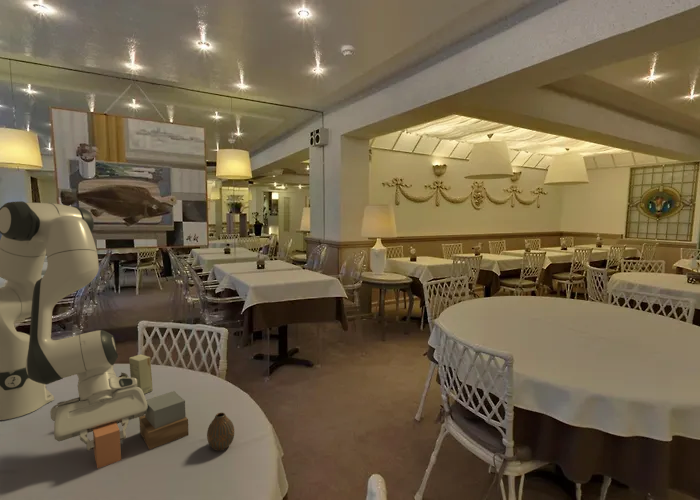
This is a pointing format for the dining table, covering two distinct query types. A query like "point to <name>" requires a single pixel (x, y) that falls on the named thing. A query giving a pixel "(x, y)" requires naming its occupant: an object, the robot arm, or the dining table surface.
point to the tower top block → (165, 409)
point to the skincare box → (141, 372)
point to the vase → (220, 432)
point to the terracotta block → (107, 444)
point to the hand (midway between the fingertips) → (107, 443)
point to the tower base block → (162, 432)
